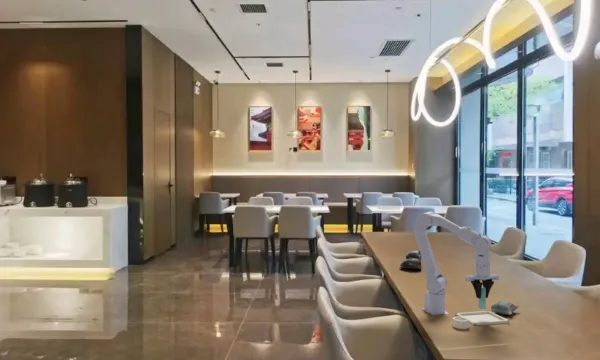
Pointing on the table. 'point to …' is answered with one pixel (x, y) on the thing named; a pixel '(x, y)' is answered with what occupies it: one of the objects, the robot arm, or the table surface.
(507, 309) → the packaged food
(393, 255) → the table surface
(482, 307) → the dowel
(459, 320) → the bowl
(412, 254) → the grey stacked sacks
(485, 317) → the tray
